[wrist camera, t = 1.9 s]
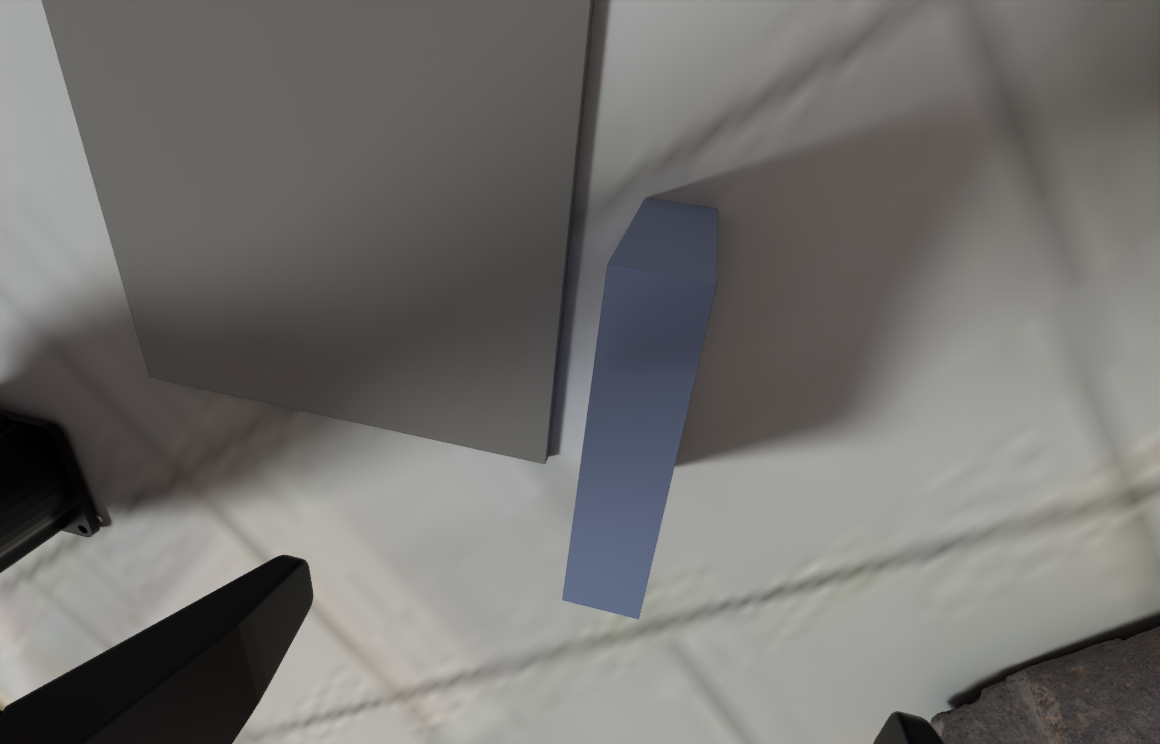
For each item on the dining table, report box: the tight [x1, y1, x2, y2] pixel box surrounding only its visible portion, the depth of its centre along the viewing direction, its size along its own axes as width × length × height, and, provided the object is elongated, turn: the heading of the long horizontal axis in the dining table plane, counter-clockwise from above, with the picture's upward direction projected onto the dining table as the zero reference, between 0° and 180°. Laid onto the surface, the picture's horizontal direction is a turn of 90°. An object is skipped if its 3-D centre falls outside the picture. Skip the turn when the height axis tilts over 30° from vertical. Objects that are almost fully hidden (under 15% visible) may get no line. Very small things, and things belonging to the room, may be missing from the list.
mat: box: [42, 0, 594, 464], centre depth 18 cm, size 18×16×1 cm
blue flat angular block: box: [562, 198, 718, 619], centre depth 15 cm, size 9×2×6 cm, turn 174°
